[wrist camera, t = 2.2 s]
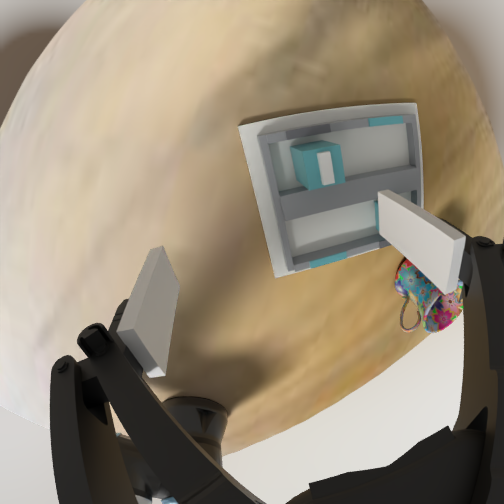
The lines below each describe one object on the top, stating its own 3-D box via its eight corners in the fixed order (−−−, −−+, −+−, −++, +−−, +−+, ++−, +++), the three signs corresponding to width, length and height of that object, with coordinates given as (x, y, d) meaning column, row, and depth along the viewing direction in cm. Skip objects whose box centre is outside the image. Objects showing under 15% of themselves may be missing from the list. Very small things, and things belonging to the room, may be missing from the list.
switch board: (274, 274, 38) (278, 287, 35) (237, 126, 29) (239, 126, 26) (418, 232, 38) (430, 241, 35) (412, 102, 29) (426, 103, 26)
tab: (296, 179, 31) (311, 192, 26) (289, 146, 29) (303, 152, 24) (328, 172, 31) (347, 183, 26) (322, 140, 29) (342, 145, 24)
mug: (423, 236, 38) (464, 269, 29) (437, 270, 42) (471, 303, 33) (369, 284, 41) (402, 327, 32) (389, 312, 45) (417, 352, 36)
